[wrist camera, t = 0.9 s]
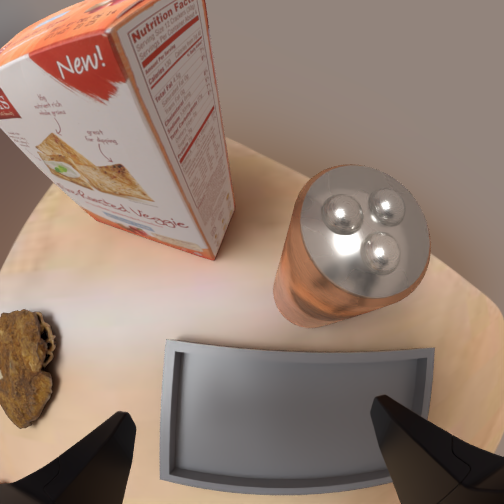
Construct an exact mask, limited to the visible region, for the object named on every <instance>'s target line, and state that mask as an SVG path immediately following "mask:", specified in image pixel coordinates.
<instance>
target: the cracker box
mask: <svg viewBox="0 0 504 504" xmlns="http://www.w3.org/2000/svg"><path fill="white" fill-rule="evenodd" d="M0 128H1V129H2V130H3V131H4V132H5V133H6V134H7V135H8V136H9V138H10V139H11V140H12V141H13V142H14V143H15V144H16V145H17V146H18V147H19V148H20V149H21V150H22V151H23V152H24V153H25V155H26V156H28V158H29V159H30V160H31V161H32V162H33V163H34V164H35V165H36V166H37V167H38V168H39V169H40V170H41V171H42V172H43V173H44V174H46V175H47V176H48V177H49V178H50V179H51V180H52V181H53V182H54V183H55V184H56V185H57V186H58V187H59V188H60V189H61V190H63V191H64V192H65V193H66V194H67V195H68V196H69V197H70V198H71V199H72V200H73V201H75V202H76V203H77V204H78V205H79V206H80V207H81V208H82V209H84V210H85V211H86V212H87V213H88V214H89V215H90V216H92V217H93V218H94V219H95V220H96V221H99V222H102V223H105V224H108V225H111V226H113V227H116V228H119V229H122V230H125V231H127V232H130V233H133V234H136V235H139V236H142V237H145V238H148V239H150V240H153V241H156V242H159V243H162V244H165V245H168V246H171V247H174V248H177V249H180V250H183V251H186V252H189V253H192V254H195V255H198V256H201V257H203V258H207V259H210V260H215V257H216V255H217V252H218V250H219V247H220V245H221V242H222V240H223V237H224V235H225V232H226V229H227V227H228V224H229V222H230V219H231V217H232V214H233V212H234V210H235V200H234V194H233V187H232V180H231V173H230V167H229V160H228V153H227V146H226V140H225V134H224V127H223V120H222V114H221V106H220V100H219V93H218V87H217V80H216V72H215V66H214V59H213V52H212V46H211V38H210V32H209V25H208V18H207V11H206V3H205V0H85V1H83V2H80V3H77V4H75V5H72V6H70V7H67V8H65V9H63V10H60V11H58V12H56V13H54V14H52V15H50V16H48V17H46V18H44V19H42V20H40V21H38V22H36V23H34V24H32V25H31V26H29V27H27V28H25V29H24V30H22V31H21V32H20V33H19V34H17V35H16V36H15V37H14V38H13V39H11V40H10V41H9V42H8V43H7V44H6V45H4V46H3V47H2V48H1V49H0Z"/></svg>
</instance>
